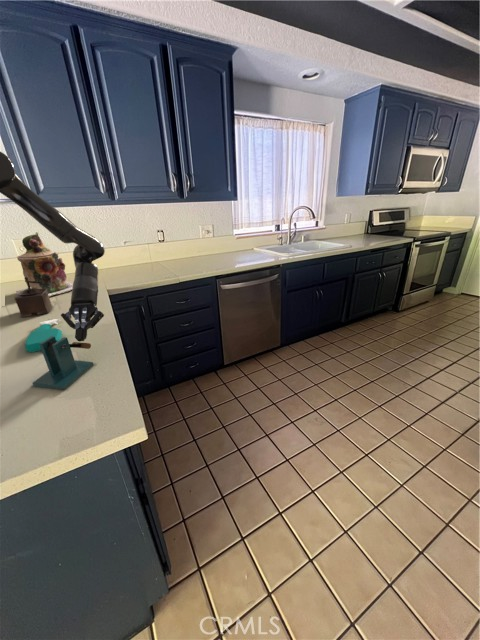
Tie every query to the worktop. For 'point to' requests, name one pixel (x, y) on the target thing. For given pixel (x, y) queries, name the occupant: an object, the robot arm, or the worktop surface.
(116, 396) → the worktop surface
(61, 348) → the teal lever stand
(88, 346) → the lever handle
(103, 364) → the worktop surface
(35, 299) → the manual coffee grinder
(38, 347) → the spray bottle
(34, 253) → the cookie jar
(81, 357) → the worktop surface
